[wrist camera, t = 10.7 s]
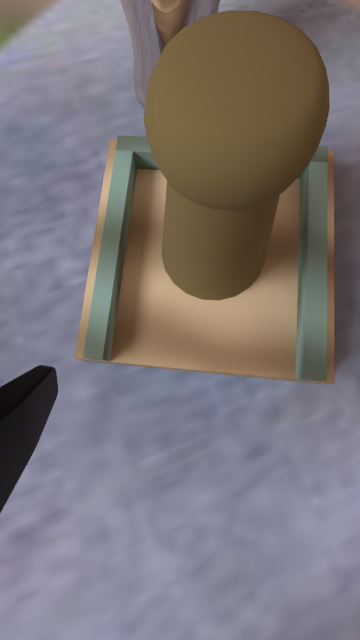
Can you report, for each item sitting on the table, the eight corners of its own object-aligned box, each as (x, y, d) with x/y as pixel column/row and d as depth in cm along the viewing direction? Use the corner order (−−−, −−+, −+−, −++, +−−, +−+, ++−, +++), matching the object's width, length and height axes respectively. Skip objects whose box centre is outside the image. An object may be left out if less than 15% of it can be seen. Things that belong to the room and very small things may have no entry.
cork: (216, 185, 19) (247, -71, 8) (287, 254, 18) (426, 61, 7) (140, 246, 19) (68, 54, 8) (208, 322, 17) (234, 220, 7)
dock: (319, 383, 19) (348, 382, 15) (86, 360, 19) (63, 355, 16) (321, 173, 21) (345, 132, 18) (117, 161, 22) (103, 120, 19)
